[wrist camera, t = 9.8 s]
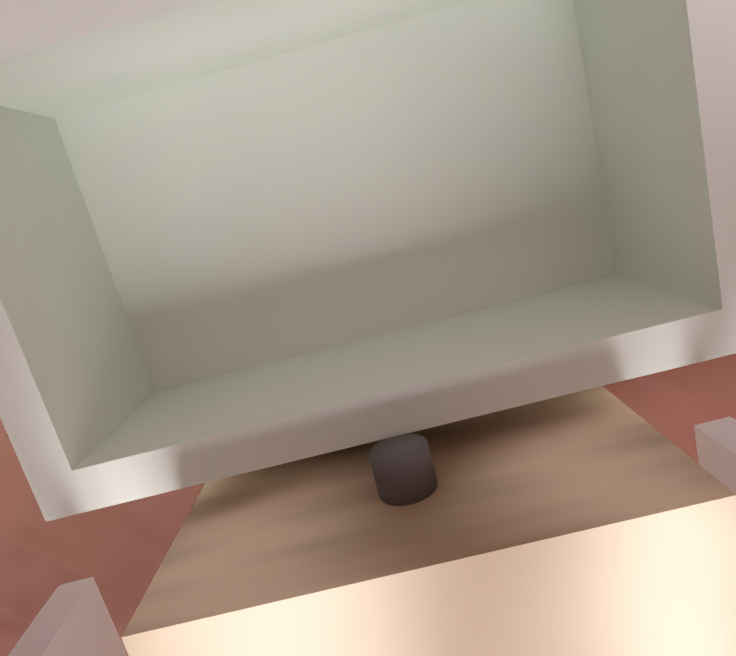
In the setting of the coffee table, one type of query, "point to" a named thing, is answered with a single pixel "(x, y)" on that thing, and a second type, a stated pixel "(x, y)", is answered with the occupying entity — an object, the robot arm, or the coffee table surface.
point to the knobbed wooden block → (459, 547)
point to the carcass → (345, 222)
